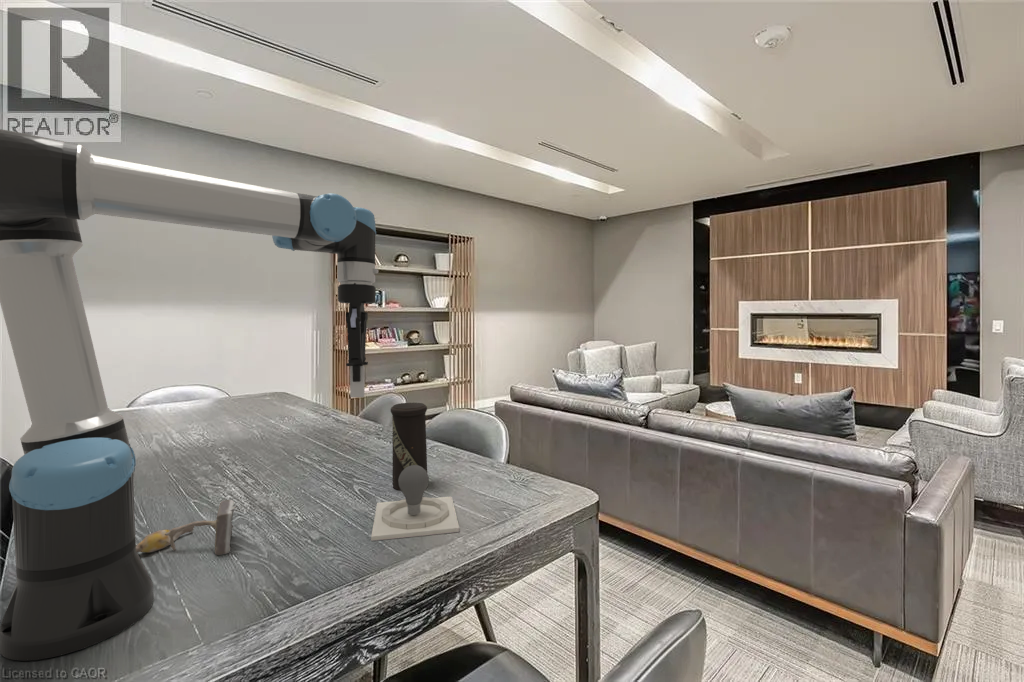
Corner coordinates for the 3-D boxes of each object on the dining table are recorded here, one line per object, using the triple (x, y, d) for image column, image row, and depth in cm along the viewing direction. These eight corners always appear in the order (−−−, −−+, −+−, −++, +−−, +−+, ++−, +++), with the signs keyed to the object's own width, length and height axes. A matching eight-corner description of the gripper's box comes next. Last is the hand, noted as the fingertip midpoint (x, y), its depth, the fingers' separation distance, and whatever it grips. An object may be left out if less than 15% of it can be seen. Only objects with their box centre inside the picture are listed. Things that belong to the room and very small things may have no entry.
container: (383, 487, 112) (382, 404, 111) (408, 476, 120) (407, 399, 119) (412, 493, 108) (410, 407, 107) (435, 481, 116) (435, 401, 115)
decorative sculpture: (130, 560, 79) (128, 518, 78) (168, 534, 88) (166, 496, 88) (229, 556, 80) (228, 514, 80) (256, 531, 90) (254, 493, 89)
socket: (459, 531, 88) (459, 522, 88) (371, 540, 85) (371, 531, 85) (451, 500, 104) (451, 492, 104) (377, 506, 101) (377, 498, 100)
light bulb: (422, 522, 91) (421, 471, 90) (393, 519, 92) (393, 469, 92) (433, 509, 97) (433, 462, 96) (406, 507, 98) (405, 460, 97)
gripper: (372, 282, 92) (372, 401, 93) (378, 287, 105) (378, 391, 106) (332, 281, 91) (332, 402, 91) (343, 286, 103) (343, 392, 104)
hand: (357, 396), depth 99 cm, fingers closed
